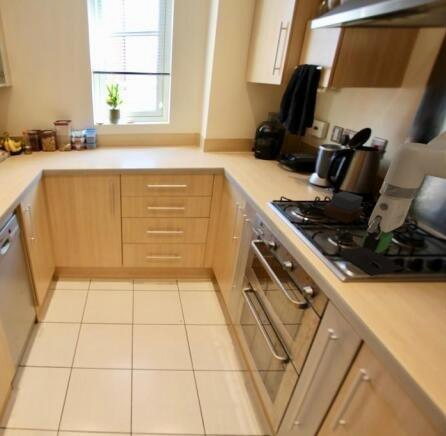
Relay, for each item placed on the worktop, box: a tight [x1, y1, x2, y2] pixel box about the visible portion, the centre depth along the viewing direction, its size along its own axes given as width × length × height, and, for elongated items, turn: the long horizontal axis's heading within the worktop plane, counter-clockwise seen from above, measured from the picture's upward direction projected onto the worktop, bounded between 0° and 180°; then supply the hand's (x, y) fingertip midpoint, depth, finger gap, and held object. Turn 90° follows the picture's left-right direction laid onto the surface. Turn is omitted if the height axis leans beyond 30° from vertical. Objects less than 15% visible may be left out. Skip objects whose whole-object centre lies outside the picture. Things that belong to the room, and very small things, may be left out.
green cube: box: [359, 230, 395, 254], centre depth 93 cm, size 5×5×5 cm
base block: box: [322, 201, 365, 224], centre depth 121 cm, size 9×9×4 cm
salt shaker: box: [393, 200, 415, 233], centre depth 110 cm, size 6×6×12 cm
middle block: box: [329, 190, 364, 211], centre depth 119 cm, size 7×7×4 cm
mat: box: [335, 246, 405, 277], centre depth 96 cm, size 12×12×1 cm
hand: (374, 245), depth 94 cm, fingers closed on green cube, 5 cm apart
